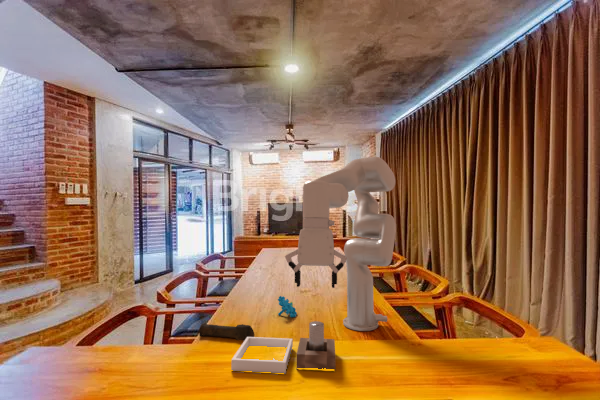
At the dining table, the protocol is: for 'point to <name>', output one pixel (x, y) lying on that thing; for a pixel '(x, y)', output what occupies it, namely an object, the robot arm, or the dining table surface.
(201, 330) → the hand tool
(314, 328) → the pin
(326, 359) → the socket block
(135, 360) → the dining table surface
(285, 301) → the teal knobbly figurine
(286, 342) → the tray
